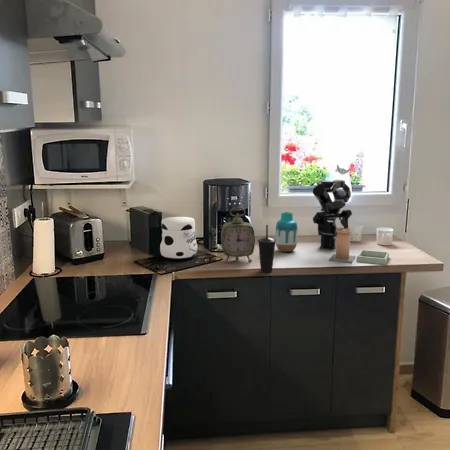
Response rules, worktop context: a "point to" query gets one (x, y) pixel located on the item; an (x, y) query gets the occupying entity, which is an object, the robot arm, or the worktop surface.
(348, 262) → the slate tile
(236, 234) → the tabletop clock
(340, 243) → the terracotta pot
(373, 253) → the green tray
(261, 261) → the drinking cup
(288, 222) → the vase
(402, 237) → the worktop surface
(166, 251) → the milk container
